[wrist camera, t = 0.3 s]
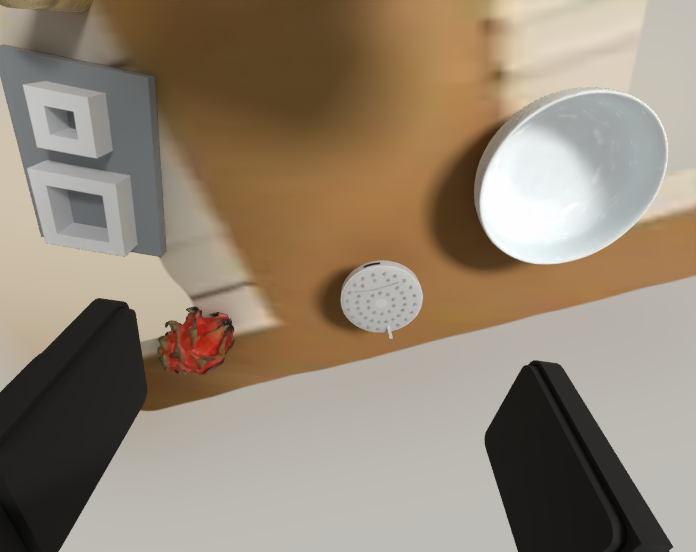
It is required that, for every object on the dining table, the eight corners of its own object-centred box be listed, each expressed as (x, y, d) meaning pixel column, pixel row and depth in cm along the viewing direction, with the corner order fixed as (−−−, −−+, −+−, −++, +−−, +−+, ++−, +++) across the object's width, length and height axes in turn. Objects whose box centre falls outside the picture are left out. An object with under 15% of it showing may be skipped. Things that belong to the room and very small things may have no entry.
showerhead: (353, 348, 47) (329, 281, 42) (354, 311, 53) (333, 249, 48) (431, 333, 46) (415, 262, 41) (422, 297, 52) (408, 231, 47)
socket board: (5, 44, 37) (-36, 46, 33) (154, 76, 38) (132, 81, 35) (49, 231, 48) (22, 248, 44) (166, 251, 49) (150, 269, 45)
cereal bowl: (527, 48, 37) (560, 51, 31) (660, 124, 40) (713, 141, 34) (434, 203, 45) (445, 230, 39) (550, 256, 48) (577, 287, 42)
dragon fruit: (172, 332, 58) (237, 292, 56) (196, 384, 57) (263, 345, 55) (128, 338, 50) (202, 291, 48) (155, 398, 48) (232, 353, 47)
